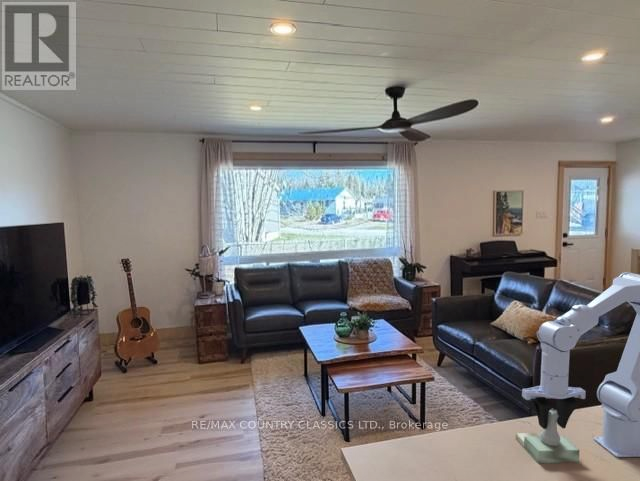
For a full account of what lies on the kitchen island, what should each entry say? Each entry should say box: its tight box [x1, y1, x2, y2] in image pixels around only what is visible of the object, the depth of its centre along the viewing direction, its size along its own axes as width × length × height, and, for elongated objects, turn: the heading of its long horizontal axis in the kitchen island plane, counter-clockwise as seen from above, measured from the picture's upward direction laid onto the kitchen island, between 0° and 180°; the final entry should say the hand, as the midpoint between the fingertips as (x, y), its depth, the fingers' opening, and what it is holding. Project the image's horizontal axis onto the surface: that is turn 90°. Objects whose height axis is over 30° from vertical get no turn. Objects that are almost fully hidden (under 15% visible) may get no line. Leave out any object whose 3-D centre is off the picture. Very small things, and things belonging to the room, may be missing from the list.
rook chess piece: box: [539, 408, 561, 446], centre depth 98 cm, size 4×4×8 cm
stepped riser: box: [515, 432, 581, 464], centre depth 100 cm, size 10×10×3 cm
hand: (552, 426), depth 98 cm, fingers open, 4 cm apart
